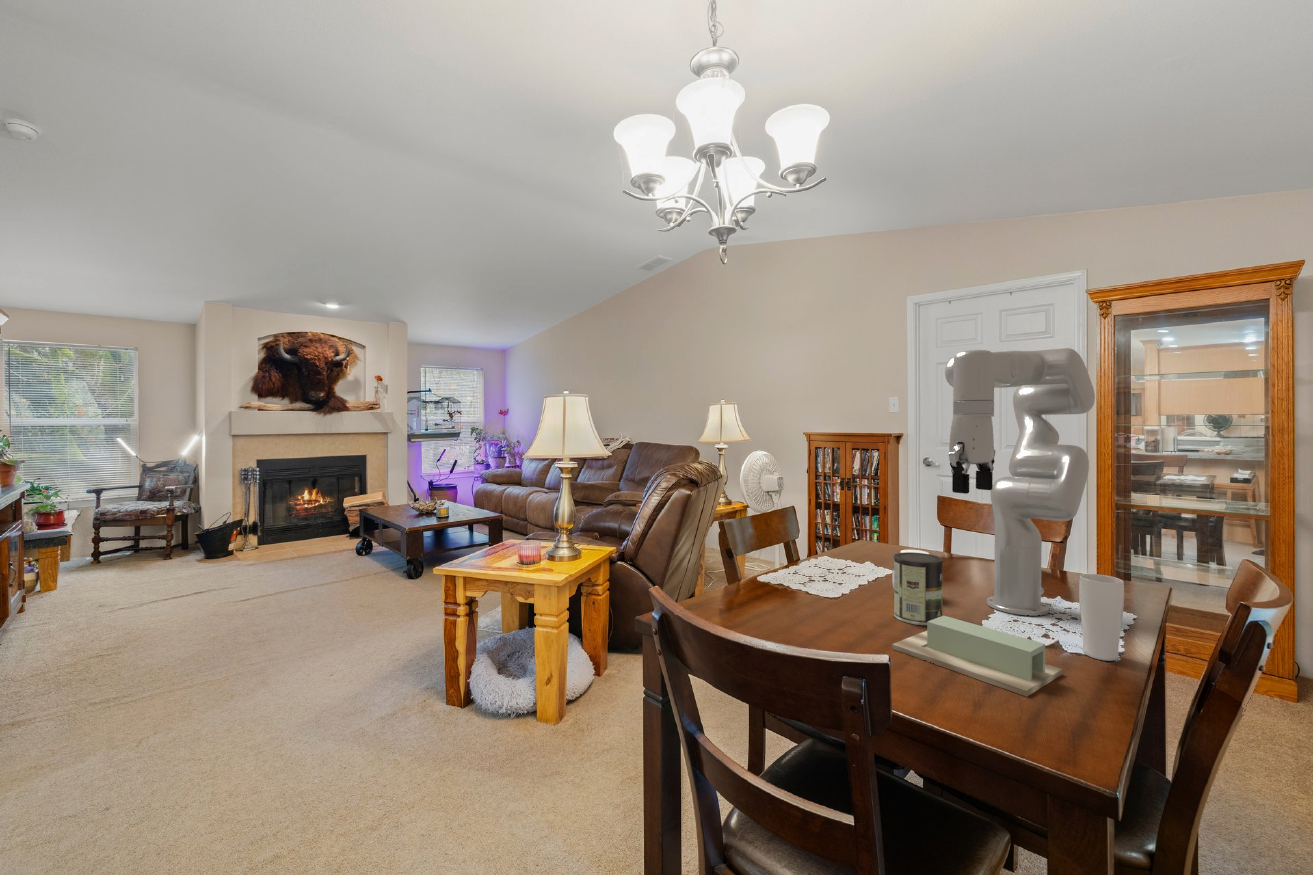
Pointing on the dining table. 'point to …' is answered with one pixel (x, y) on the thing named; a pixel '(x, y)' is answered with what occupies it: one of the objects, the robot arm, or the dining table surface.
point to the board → (976, 667)
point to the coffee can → (917, 587)
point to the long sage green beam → (986, 646)
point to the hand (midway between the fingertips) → (972, 491)
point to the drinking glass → (1101, 615)
